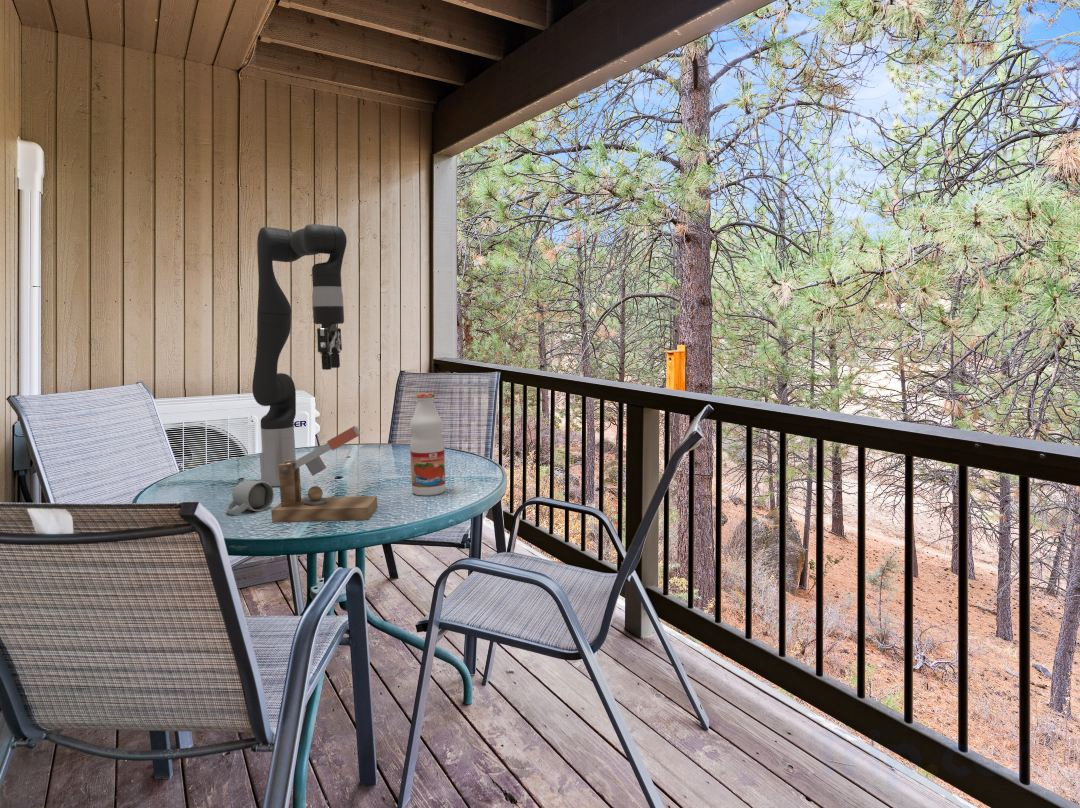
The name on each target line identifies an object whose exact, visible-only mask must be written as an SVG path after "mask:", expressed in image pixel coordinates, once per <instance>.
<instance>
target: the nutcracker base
mask: <svg viewBox="0 0 1080 808" xmlns="http://www.w3.org/2000/svg"><path fill="white" fill-rule="evenodd" d="M296 460H297V459H296ZM296 460H286V461H284V462H285V464H279V480H280V486H279V490H280V491H279V492H280V493H279V495H280V503H279V504H278V505H276V506H274V507H273V508H272V509H271V512H270V513H271V522H272V523H291V522H292V523H294V522H295V523H298V522H326V521H327V522H330V521H331V522H333V521H363V520H365V521H366V520H369V519H370V518H371V517H372V516H373V514H374V513H375V511H376V510H377V508H378V496H377V495H372V496H369V495H368V496H331V497H330V496H329V497H323V494H324V492H323V489H322V488H321V486H317V485H313V486H311V487H309V488H308V489H307V497H302V491H301V490H302V489H301V488H302V487H301V475H300V474H301V472H300V470H301V469H300V467H299V468H297V469H296V471H295V472H294V464H286V463H288V462H294V461H296Z"/></svg>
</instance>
